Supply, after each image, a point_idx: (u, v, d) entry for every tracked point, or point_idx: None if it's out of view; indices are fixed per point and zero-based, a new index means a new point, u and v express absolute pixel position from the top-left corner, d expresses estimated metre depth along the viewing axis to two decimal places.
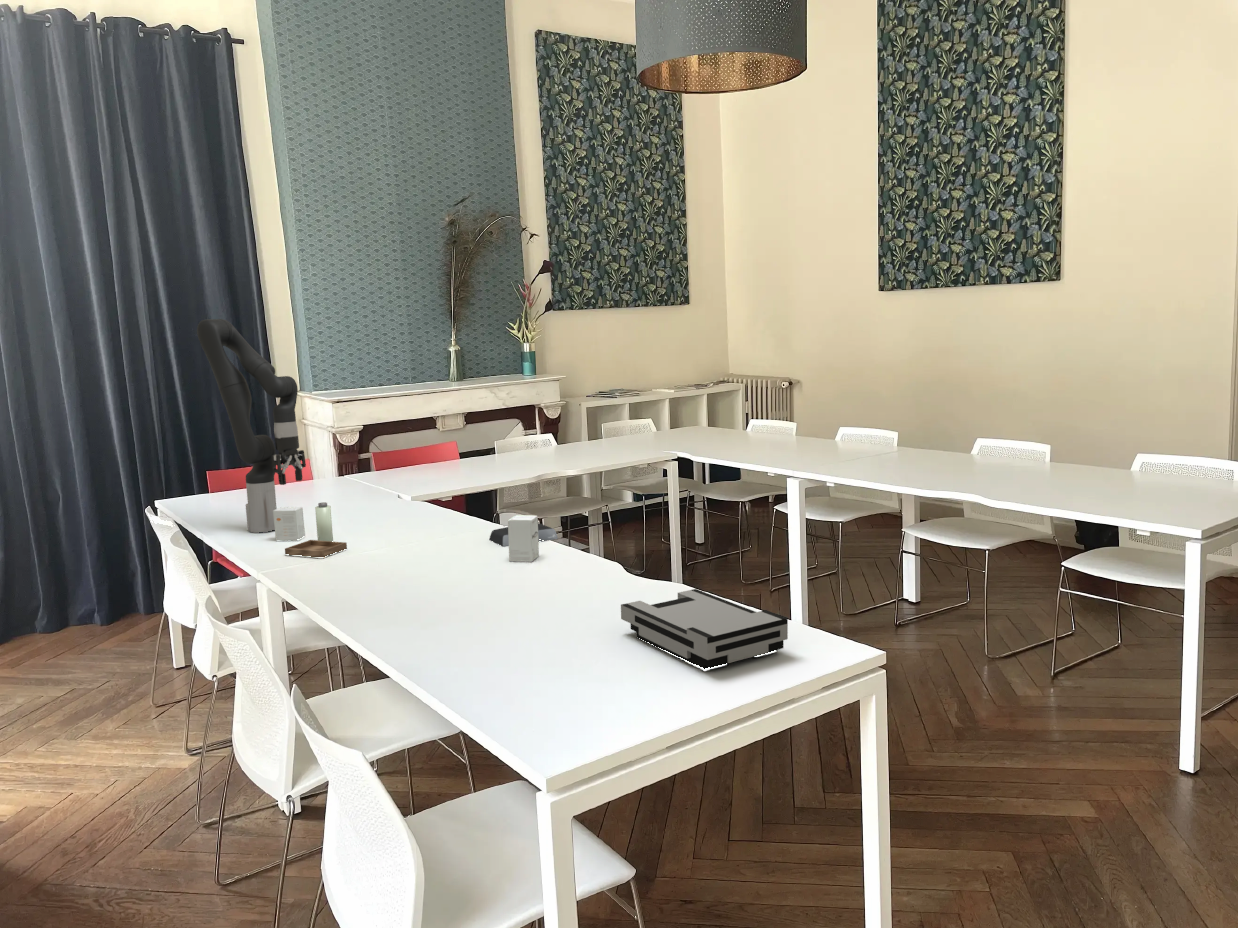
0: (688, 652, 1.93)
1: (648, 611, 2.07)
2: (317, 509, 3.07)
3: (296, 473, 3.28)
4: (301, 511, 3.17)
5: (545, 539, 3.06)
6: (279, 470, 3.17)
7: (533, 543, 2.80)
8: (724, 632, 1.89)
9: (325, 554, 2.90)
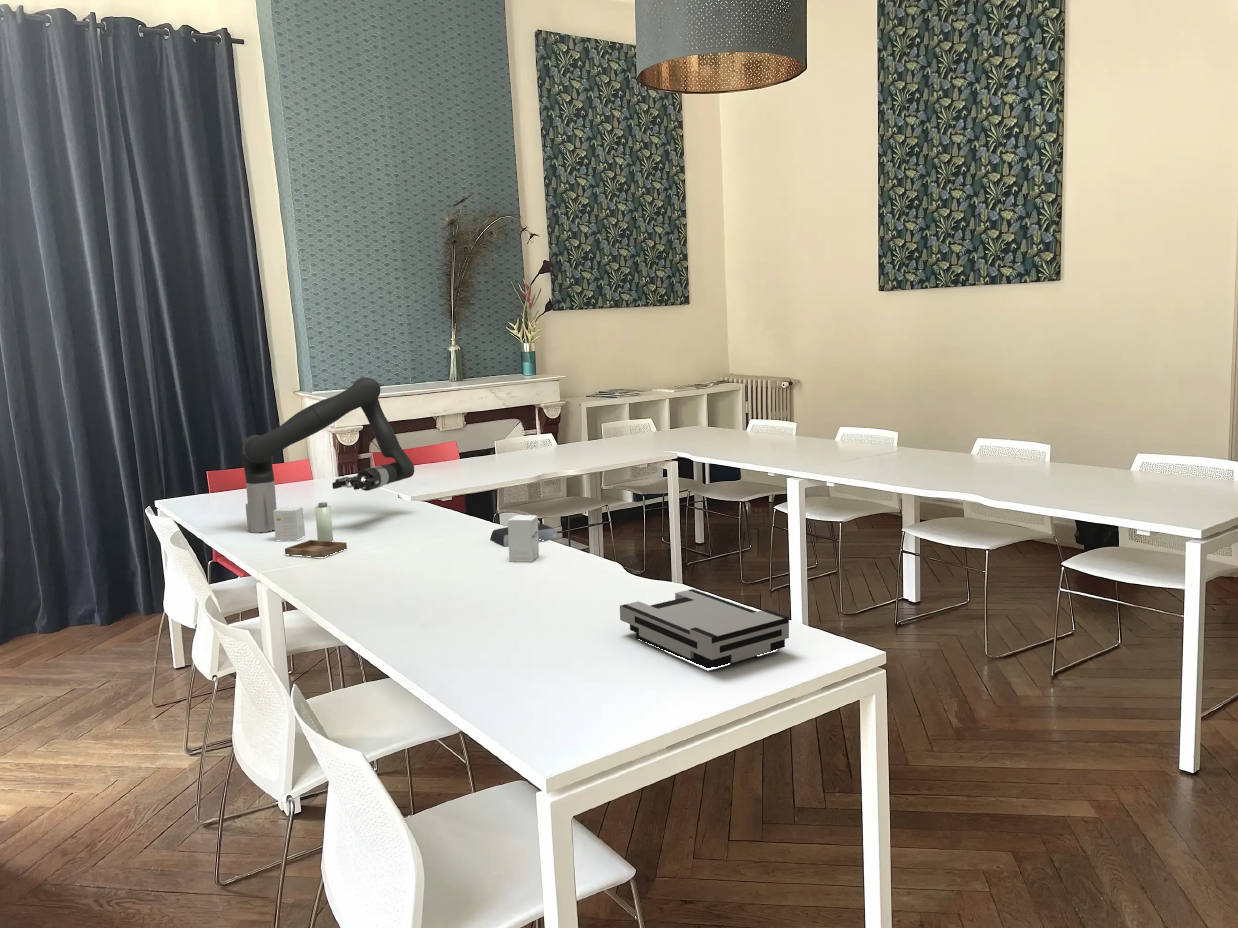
0: (691, 652, 1.92)
1: (648, 612, 2.07)
2: (317, 509, 3.07)
3: (338, 483, 3.22)
4: (301, 511, 3.17)
5: (546, 539, 3.05)
6: (370, 487, 3.21)
7: (533, 543, 2.80)
8: (728, 632, 1.89)
9: (325, 554, 2.90)
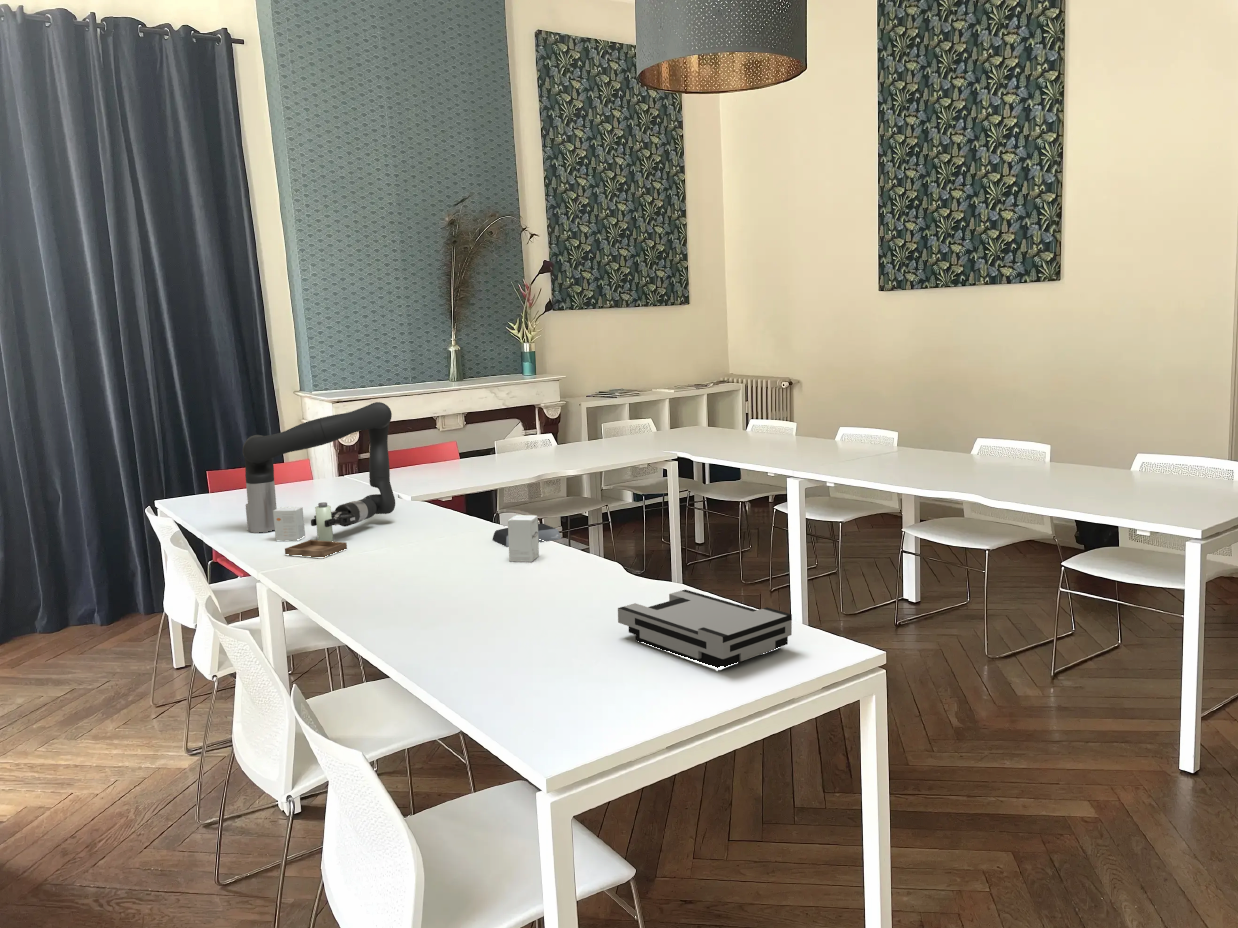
0: (699, 652, 1.92)
1: (649, 614, 2.06)
2: (317, 509, 3.07)
3: None
4: (301, 511, 3.17)
5: (548, 539, 3.05)
6: (342, 524, 3.10)
7: (533, 543, 2.80)
8: (737, 631, 1.89)
9: (325, 554, 2.90)
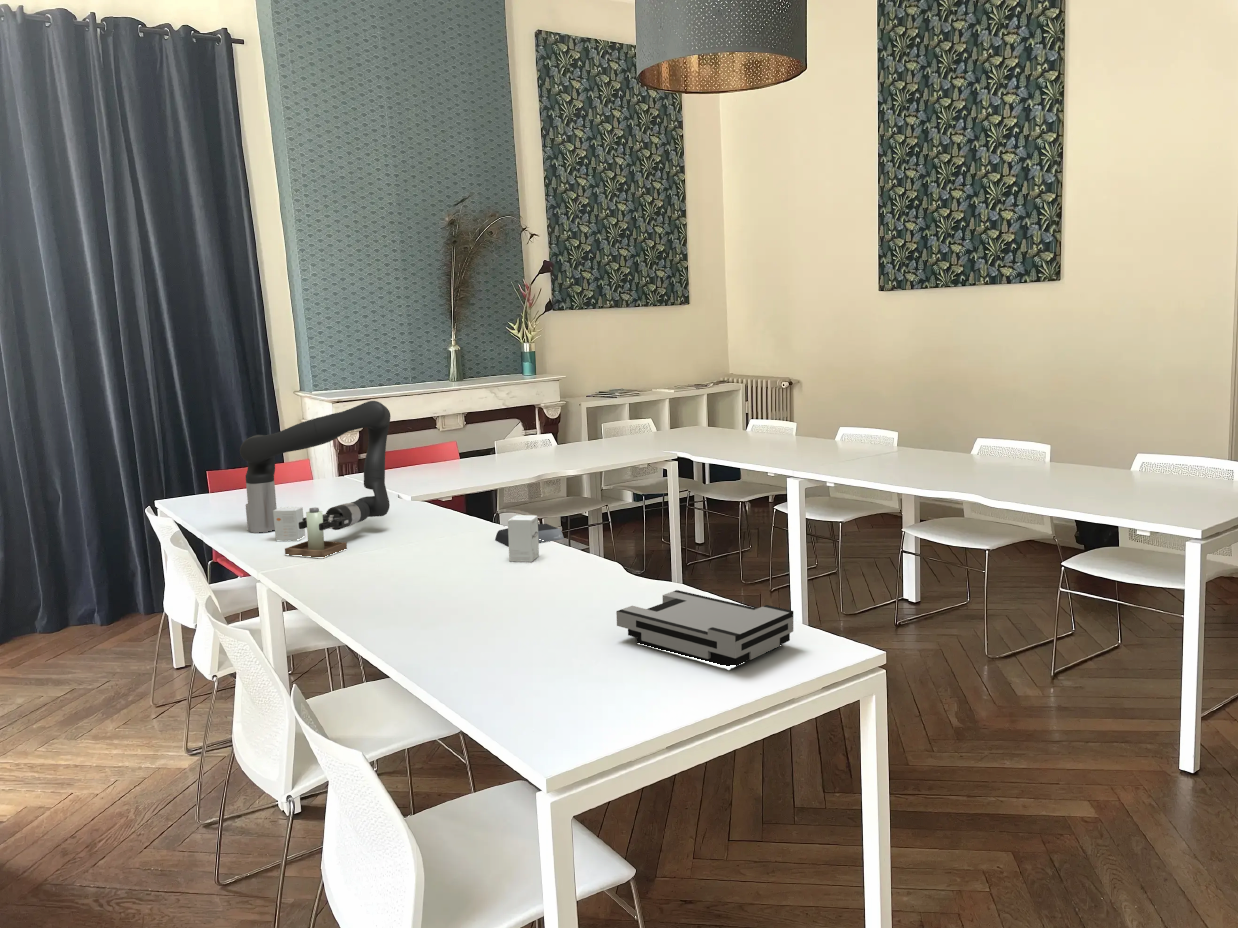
0: (708, 652, 1.92)
1: (650, 616, 2.04)
2: (308, 514, 2.94)
3: (306, 522, 2.98)
4: (301, 511, 3.17)
5: (551, 539, 3.05)
6: (337, 528, 2.97)
7: (533, 543, 2.80)
8: (746, 629, 1.90)
9: (325, 554, 2.90)
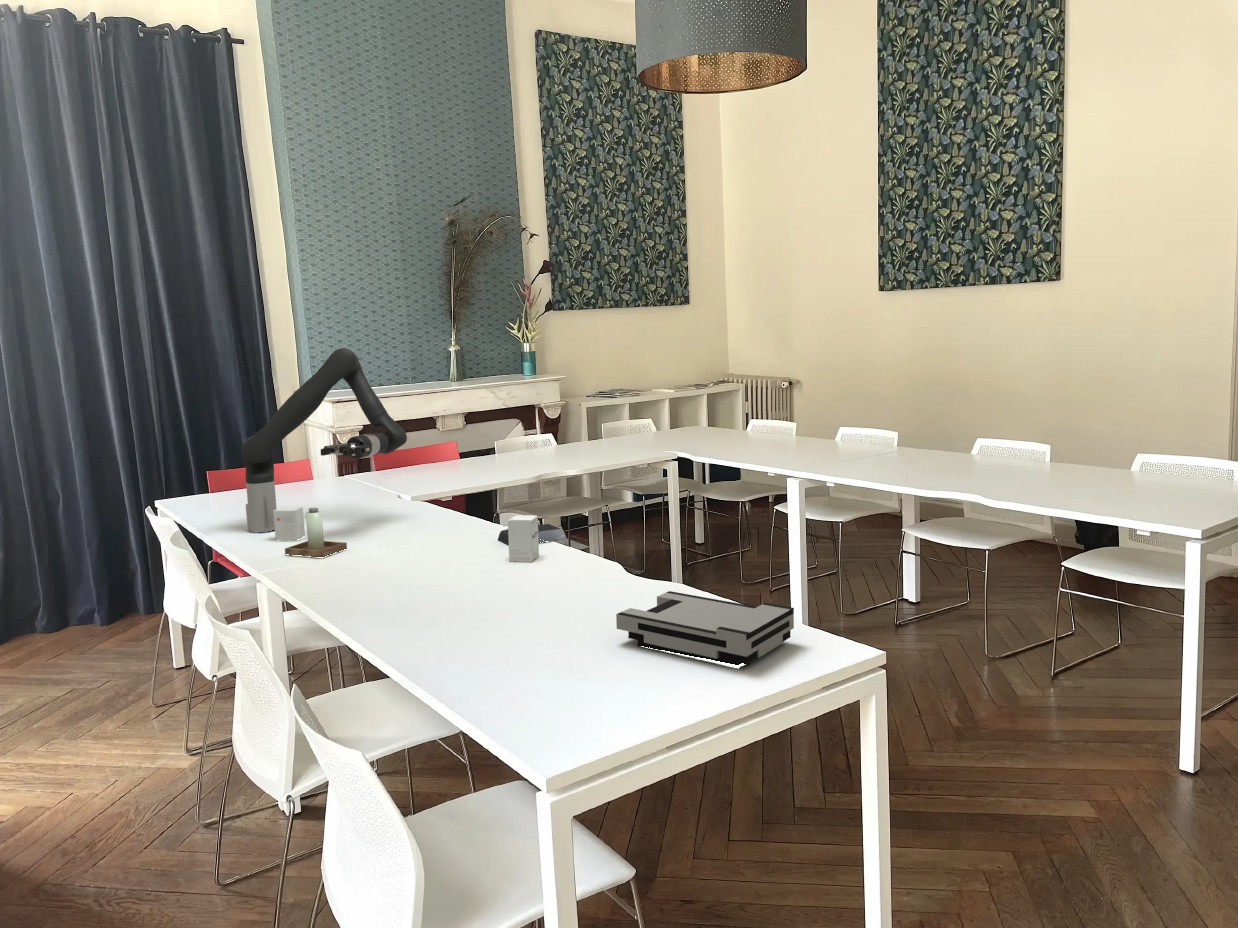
0: (717, 652, 1.92)
1: (652, 617, 2.03)
2: (307, 515, 2.94)
3: (327, 449, 3.07)
4: (301, 511, 3.17)
5: (554, 539, 3.04)
6: (360, 454, 3.05)
7: (533, 543, 2.80)
8: (755, 627, 1.91)
9: (325, 554, 2.90)
